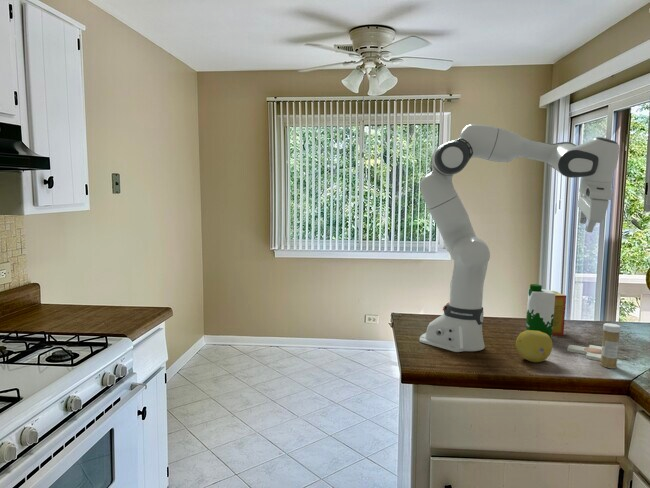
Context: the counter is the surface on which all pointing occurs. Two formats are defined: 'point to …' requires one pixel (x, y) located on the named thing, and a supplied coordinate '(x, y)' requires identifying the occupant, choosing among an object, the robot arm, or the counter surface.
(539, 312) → the milk carton
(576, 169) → the robot arm
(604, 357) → the sprinkles bottle
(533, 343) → the fruit
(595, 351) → the tee board
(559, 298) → the baking soda box
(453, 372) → the counter surface
